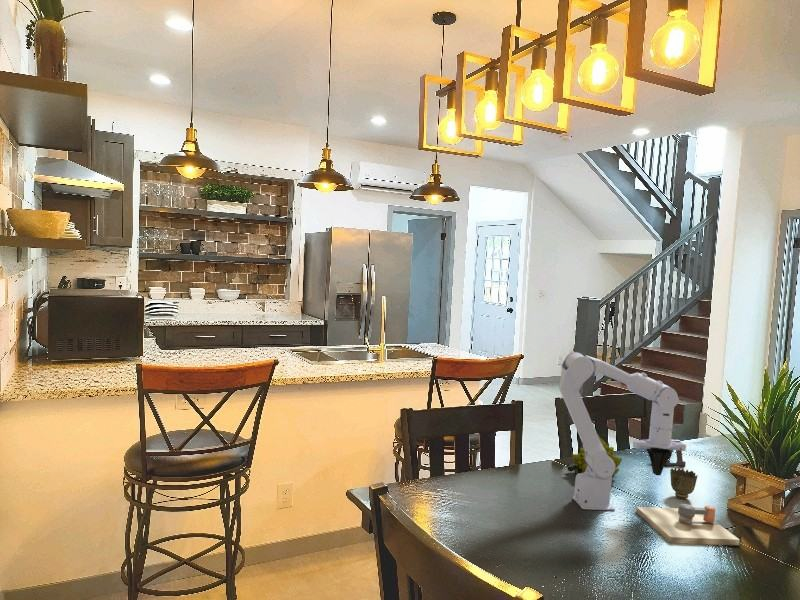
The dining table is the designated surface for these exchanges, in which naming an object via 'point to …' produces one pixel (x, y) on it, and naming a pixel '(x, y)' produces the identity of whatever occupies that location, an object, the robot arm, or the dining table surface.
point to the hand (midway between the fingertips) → (656, 474)
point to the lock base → (686, 527)
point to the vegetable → (582, 465)
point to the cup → (682, 482)
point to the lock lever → (697, 512)
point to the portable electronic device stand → (679, 458)
